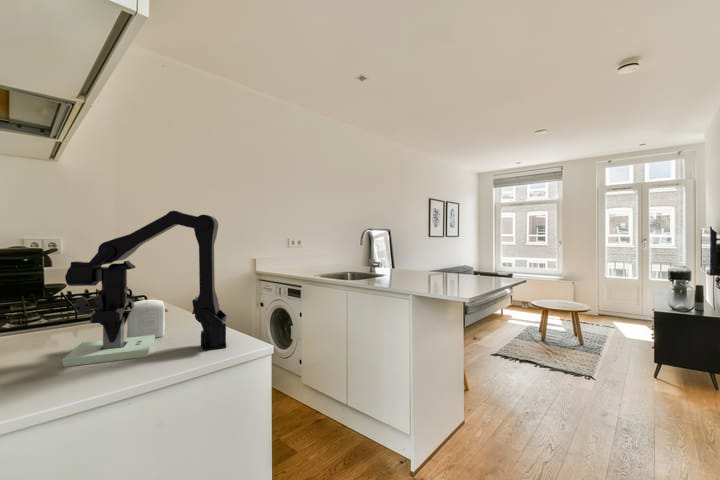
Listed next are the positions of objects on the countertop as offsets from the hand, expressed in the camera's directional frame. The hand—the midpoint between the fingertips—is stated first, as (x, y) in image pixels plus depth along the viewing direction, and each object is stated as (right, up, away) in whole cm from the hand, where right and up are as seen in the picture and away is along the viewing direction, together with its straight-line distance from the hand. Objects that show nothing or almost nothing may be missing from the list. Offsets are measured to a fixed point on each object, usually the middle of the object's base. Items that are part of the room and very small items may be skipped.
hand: (114, 340), depth 92 cm
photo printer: (0, -4, +13) cm, 14 cm away
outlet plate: (0, -4, 0) cm, 4 cm away
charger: (0, -3, 0) cm, 3 cm away
